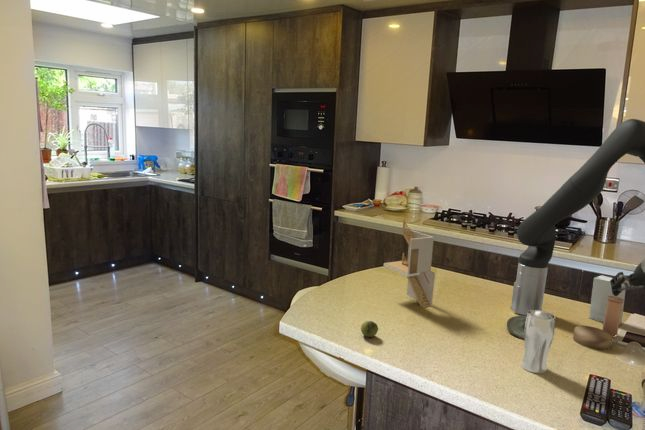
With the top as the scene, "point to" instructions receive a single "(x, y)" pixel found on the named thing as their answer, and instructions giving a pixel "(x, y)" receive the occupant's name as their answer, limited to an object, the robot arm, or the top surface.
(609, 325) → the pink drinking glass
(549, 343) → the beer glass
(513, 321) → the lid
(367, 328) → the lime
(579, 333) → the base
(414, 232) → the staircase
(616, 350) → the top surface
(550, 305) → the top surface
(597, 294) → the skincare box
